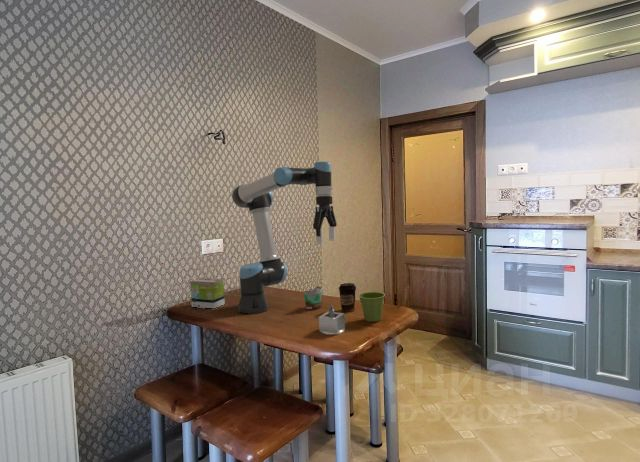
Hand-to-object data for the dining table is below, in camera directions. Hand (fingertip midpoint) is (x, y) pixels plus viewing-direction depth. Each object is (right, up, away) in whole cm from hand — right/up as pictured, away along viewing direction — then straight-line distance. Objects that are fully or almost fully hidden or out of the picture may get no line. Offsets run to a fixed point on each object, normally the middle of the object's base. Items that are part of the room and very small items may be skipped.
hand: (326, 242), depth 179 cm
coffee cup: (+11, -34, +10) cm, 37 cm away
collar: (+2, -36, -19) cm, 40 cm away
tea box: (-63, -36, +31) cm, 79 cm away
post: (+2, -36, -19) cm, 41 cm away
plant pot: (+21, -35, -7) cm, 41 cm away
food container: (-5, -34, +17) cm, 38 cm away
